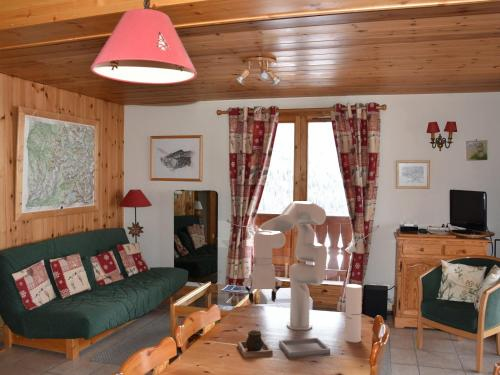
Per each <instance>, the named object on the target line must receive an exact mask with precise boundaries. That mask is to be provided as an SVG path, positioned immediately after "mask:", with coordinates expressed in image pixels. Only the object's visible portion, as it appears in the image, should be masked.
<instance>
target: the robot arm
mask: <svg viewBox="0 0 500 375" xmlns="http://www.w3.org/2000/svg"><path fill="white" fill-rule="evenodd" d="M326 220H327V213H326V211H325V209H324V208H323V207H321V206H320V205H318V204H316V203H315V202H310V201H292V202H290V203H289V204H288V205H287V206H286V207H285V209H284V210H283V211H282V213H280V215H278V216H276V217H273V218H271V219H269V220H266V221H264V222H262V223H261V225H260V226H259V227H258V228H257V229H256V230H255V233H254V236H253V242H254V257H253V258H251V259H250V262H251V263H254V264H252V268H251V273H250V278H249V279H246V280H244V281H243V282H242V285H243V287H244V289H245V290H246V291H247V292H248V300H249V302H250V303H251V304H252V303H254V291H255V290H270V289H271V290H272V291H271V292H270V293H271V295H270V296H271V299H270V300H271V301H272V302H273V303H275V302H276V300H277V293H278V291H279V290H280V288H281V286H282V285H283V281H282V280H280V279H279V278H277V277H276V270H275V269H276V268H275V265H274V264H273V249H282V248H283V247H284V246H285V244H286V241H287V237H286V235H285V234H284V233H285V232H289V231H291V230H293V229H294V228H295V226H296V228H297V237H296V238H297V240H296V245H295V253H294V254H295V255H294V256H295V258H296V260H298V261H301V262H305V263H298V262H297V263H293V264H292V265H290V266H289V269H288V277H289V282H290V306H289V309H290V312H289V318H290V319H289V321H288V322H287V324H286V327H287V328H288V329H291V330H292V331H293V330H294V331H309V330H312V329H313V324H312V323H311V322H310V304H311V303H310V299H311V298H310V297H311V296H310V295H311V294H310V288H309V286H308V285H312V286H320V285H322V284H323V282H324V279H325V273H326V266H327V257H328V251H327V246H325V245H324V244H322V243H315V235H316V232H315V231H314V229H313V227H312V225H316V226H317V225H318V226H320V225H323V224H324V223H325V222H326ZM306 262H309V263H313V264H314V265H313V264H308V263H306ZM248 284H250V287H249V286H248ZM276 284H277V285H276Z"/></svg>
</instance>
